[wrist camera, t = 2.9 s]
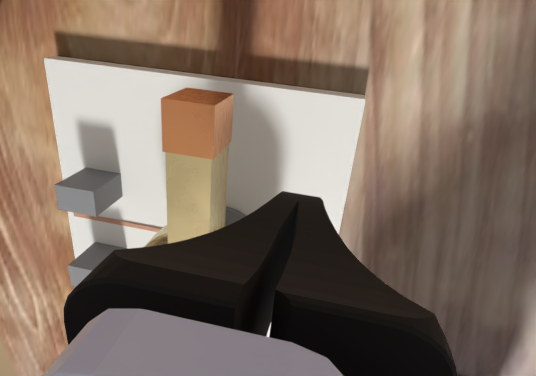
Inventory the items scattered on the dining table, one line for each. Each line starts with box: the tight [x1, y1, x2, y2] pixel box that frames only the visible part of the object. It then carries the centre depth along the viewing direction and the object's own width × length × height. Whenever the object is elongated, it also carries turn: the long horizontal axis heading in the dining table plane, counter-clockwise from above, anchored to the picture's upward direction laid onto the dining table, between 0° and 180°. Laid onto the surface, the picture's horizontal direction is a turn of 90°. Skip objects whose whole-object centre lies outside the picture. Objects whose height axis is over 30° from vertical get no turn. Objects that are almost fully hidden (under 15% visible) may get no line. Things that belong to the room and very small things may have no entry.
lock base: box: [44, 56, 366, 337], centre depth 23 cm, size 18×18×4 cm
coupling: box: [144, 87, 234, 247], centre depth 18 cm, size 14×7×3 cm, turn 175°
